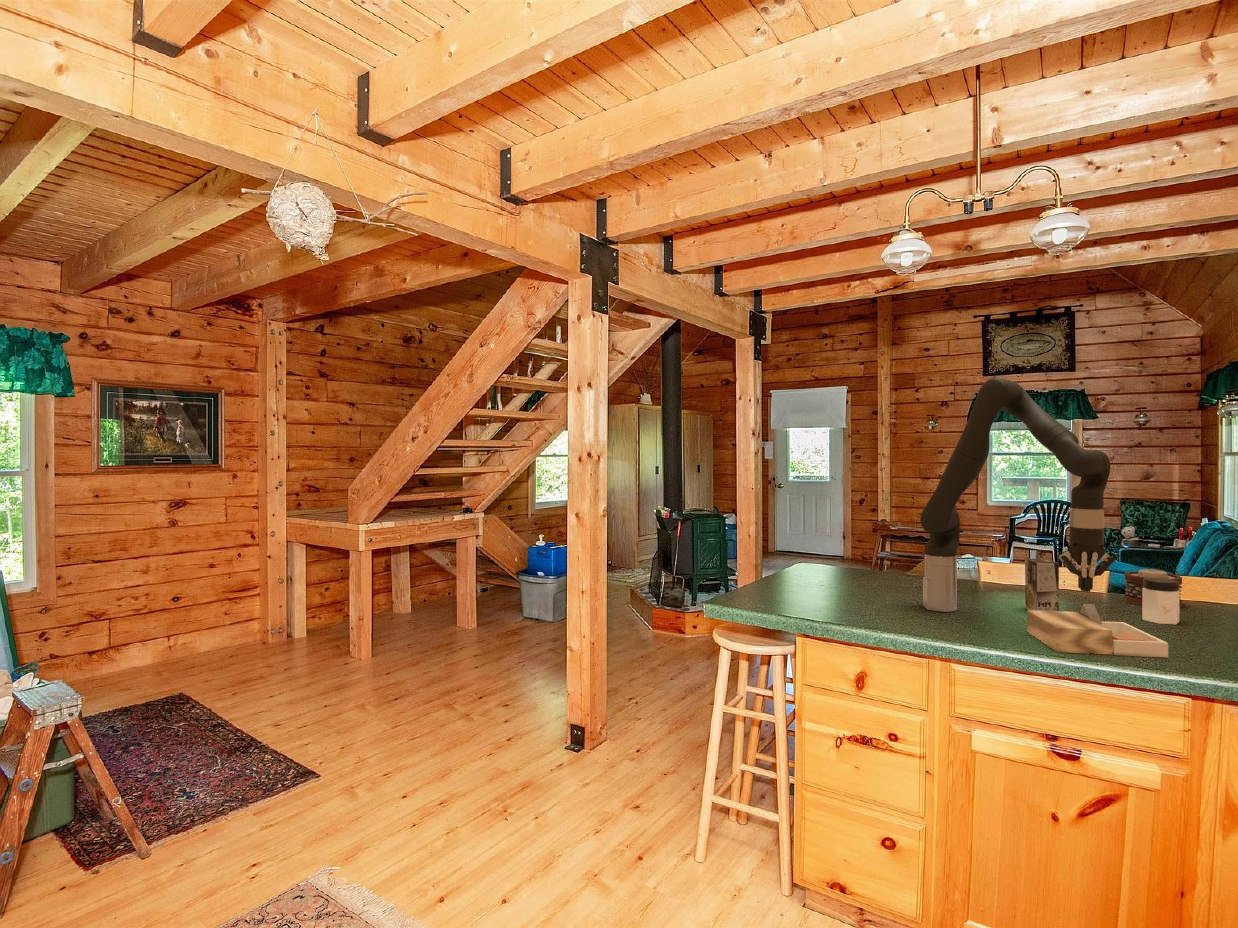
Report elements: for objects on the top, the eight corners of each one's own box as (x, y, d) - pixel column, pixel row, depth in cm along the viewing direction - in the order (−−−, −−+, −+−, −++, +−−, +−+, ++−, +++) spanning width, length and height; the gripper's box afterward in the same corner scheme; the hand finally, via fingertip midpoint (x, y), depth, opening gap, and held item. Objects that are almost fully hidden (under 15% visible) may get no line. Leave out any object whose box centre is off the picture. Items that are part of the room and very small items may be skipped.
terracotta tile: (1145, 639, 165) (1145, 649, 165) (1130, 633, 170) (1130, 642, 171) (1118, 638, 165) (1118, 648, 166) (1104, 632, 171) (1104, 642, 171)
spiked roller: (1113, 566, 224) (1164, 567, 221) (1113, 598, 224) (1164, 599, 221) (1140, 574, 209) (1194, 575, 207) (1139, 608, 209) (1194, 610, 207)
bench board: (1057, 651, 165) (1057, 627, 165) (1027, 631, 184) (1027, 610, 184) (1112, 654, 163) (1112, 629, 163) (1075, 633, 181) (1075, 611, 181)
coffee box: (1059, 616, 201) (1059, 562, 200) (1036, 615, 202) (1036, 562, 202) (1047, 609, 210) (1046, 558, 209) (1024, 608, 211) (1024, 557, 211)
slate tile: (1083, 603, 178) (1094, 604, 177) (1077, 617, 182) (1087, 618, 181) (1091, 622, 174) (1102, 622, 173) (1084, 636, 177) (1095, 636, 177)
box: (1114, 655, 162) (1114, 640, 162) (1076, 633, 182) (1076, 620, 182) (1168, 657, 160) (1168, 643, 160) (1123, 635, 180) (1123, 622, 179)
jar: (1148, 623, 191) (1148, 581, 191) (1136, 616, 199) (1136, 576, 199) (1186, 625, 189) (1186, 583, 188) (1172, 618, 196) (1172, 578, 196)
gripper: (1064, 526, 173) (1063, 593, 173) (1122, 528, 170) (1121, 595, 170) (1052, 523, 180) (1051, 587, 180) (1107, 524, 177) (1106, 589, 178)
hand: (1085, 591), depth 175 cm, fingers closed
